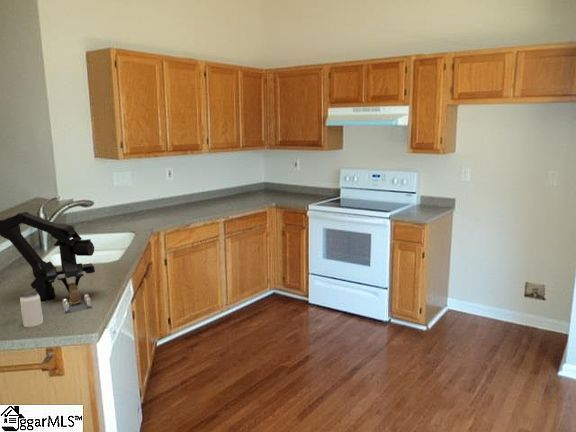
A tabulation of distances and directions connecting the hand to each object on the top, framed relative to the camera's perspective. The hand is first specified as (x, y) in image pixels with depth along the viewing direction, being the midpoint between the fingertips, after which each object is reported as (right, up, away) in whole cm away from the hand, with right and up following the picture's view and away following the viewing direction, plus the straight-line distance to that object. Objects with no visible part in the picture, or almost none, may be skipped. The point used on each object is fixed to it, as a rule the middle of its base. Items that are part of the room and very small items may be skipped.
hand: (72, 290), depth 195 cm
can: (-3, -9, -23) cm, 25 cm away
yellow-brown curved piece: (+4, -4, -5) cm, 8 cm away
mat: (+6, -5, -8) cm, 11 cm away
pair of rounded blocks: (+7, -5, -10) cm, 13 cm away
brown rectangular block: (+2, -3, -3) cm, 5 cm away
